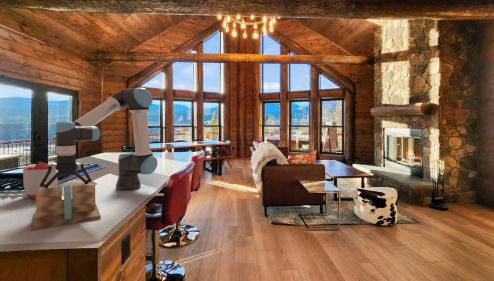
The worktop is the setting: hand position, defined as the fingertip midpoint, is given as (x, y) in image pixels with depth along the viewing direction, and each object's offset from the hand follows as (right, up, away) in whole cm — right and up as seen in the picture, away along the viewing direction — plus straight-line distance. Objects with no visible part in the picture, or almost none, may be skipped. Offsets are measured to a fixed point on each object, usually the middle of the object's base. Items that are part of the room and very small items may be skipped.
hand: (67, 198), depth 124 cm
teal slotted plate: (+4, -5, -5) cm, 8 cm away
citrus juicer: (-33, -4, +25) cm, 42 cm away
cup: (-11, -5, +20) cm, 24 cm away
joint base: (+4, -7, -5) cm, 9 cm away
